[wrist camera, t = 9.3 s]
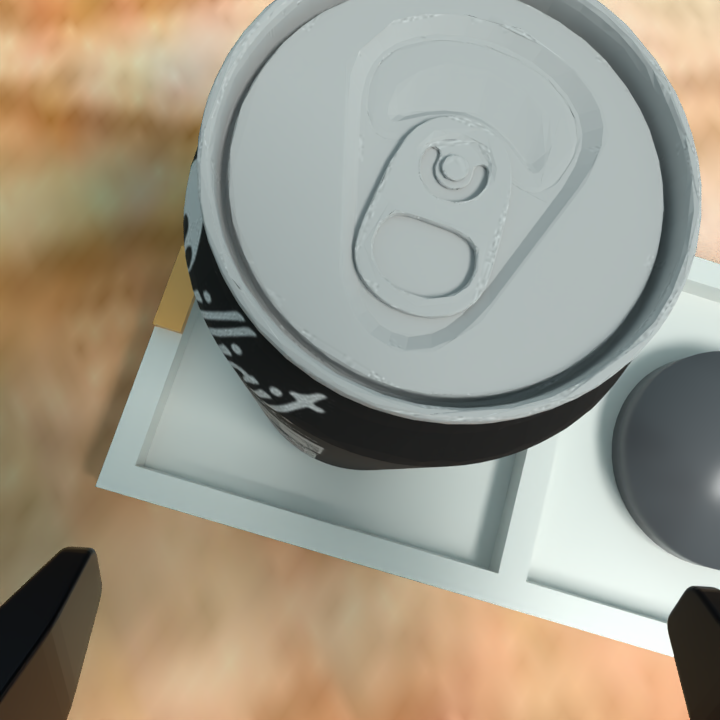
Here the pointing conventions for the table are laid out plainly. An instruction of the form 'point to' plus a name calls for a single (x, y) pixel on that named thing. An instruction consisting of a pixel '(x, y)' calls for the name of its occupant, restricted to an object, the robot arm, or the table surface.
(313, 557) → the table surface
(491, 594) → the white divided tray
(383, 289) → the beverage can
